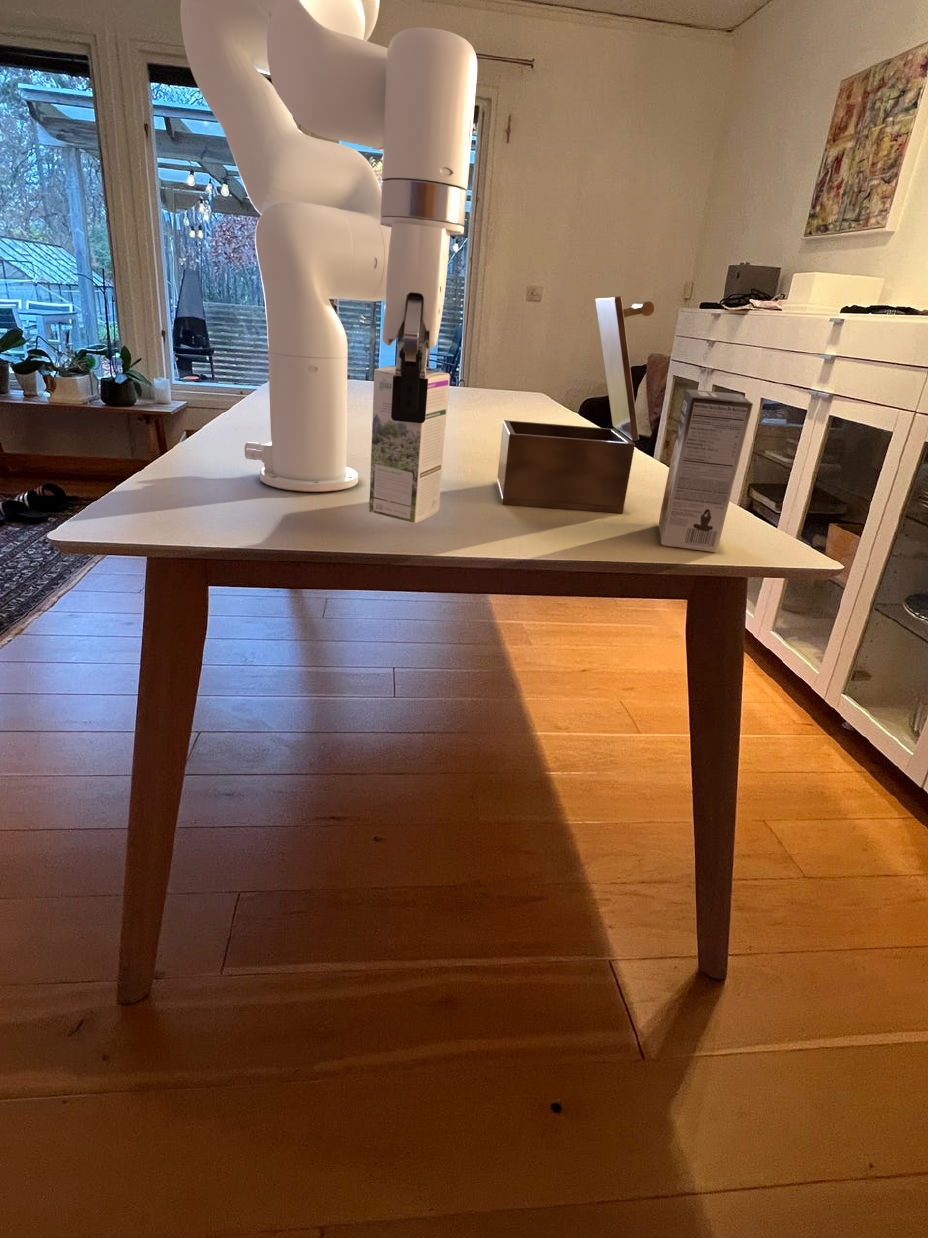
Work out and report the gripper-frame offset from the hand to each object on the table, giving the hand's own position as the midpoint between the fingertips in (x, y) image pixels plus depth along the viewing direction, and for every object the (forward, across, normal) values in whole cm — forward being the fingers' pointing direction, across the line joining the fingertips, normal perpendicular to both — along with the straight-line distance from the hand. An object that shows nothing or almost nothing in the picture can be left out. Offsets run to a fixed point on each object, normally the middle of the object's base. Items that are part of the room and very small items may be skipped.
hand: (410, 413), depth 69 cm
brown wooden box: (+12, -20, +19) cm, 31 cm away
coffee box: (+12, -5, +33) cm, 35 cm away
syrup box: (+11, 0, 0) cm, 11 cm away
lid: (-5, -21, +24) cm, 32 cm away
